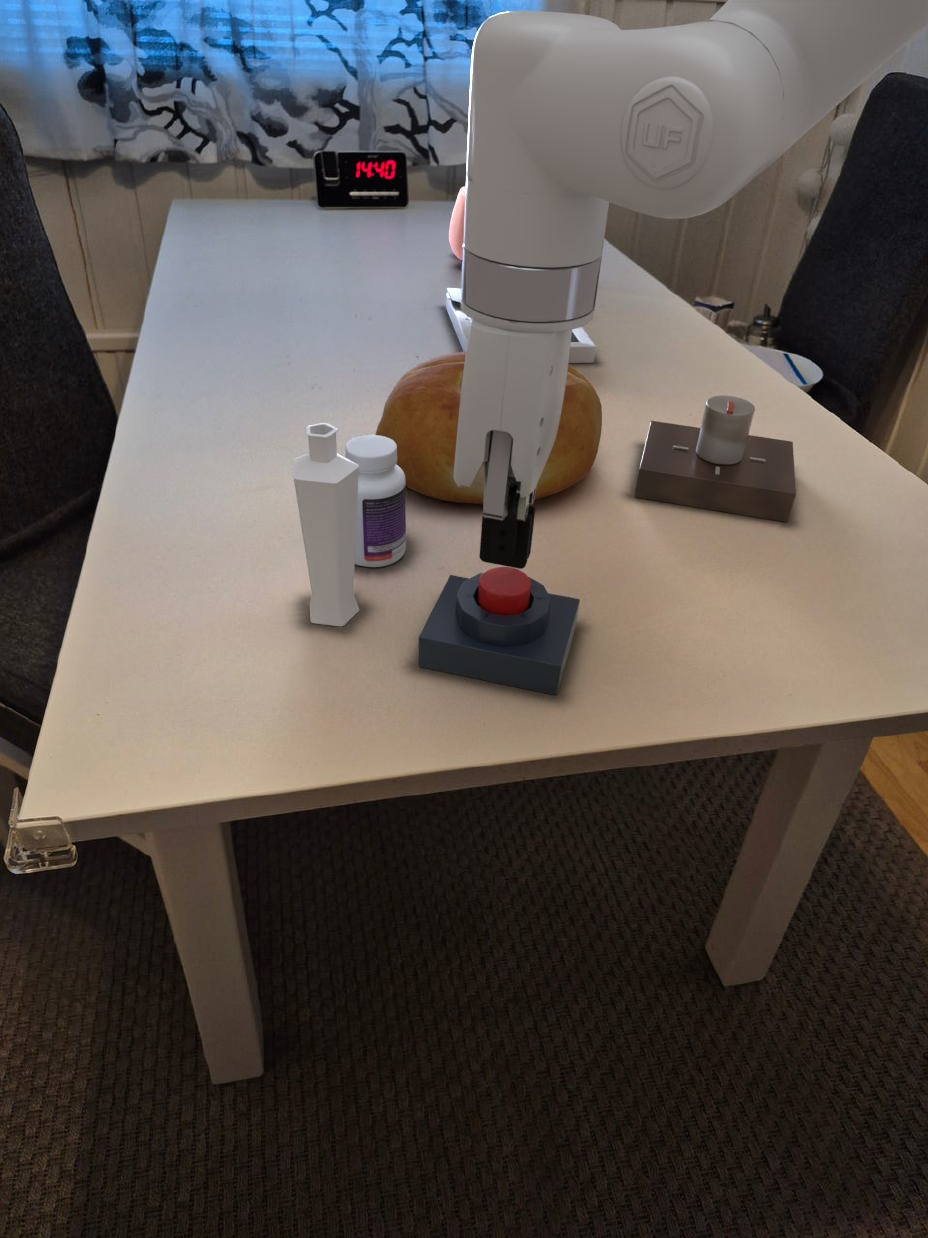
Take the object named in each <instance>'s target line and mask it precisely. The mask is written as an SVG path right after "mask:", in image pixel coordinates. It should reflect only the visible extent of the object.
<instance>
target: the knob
mask: <svg viewBox="0 0 928 1238" xmlns="http://www.w3.org/2000/svg"><path fill="white" fill-rule="evenodd" d="M755 411H756V407H755V405H754V404H753V403H752V402H750V401H749V400H747V399H744V398H742V397H738V396H733V395H715V396H714V395H713V396H710V397H709V398H708V399H707V400H706V402H705V407H704V411H703V415H702V419H701V424H700V427H699V428H700V433H699V437H698V442H697V446H696V453H697V455H698V456H699V457H701V458H702V459H704V460H706V461H708V462H711V463H716V464H723V465H729V464H735V463H738V462H740V461H741V460H742V458H743V454H744V450H745V446H746V442H747V438H748V435H750V430H751V427H752V422H753V418H754V415H755Z"/></svg>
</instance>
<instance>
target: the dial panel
mask: <svg viewBox="0 0 928 1238" xmlns="http://www.w3.org/2000/svg"><path fill="white" fill-rule="evenodd" d="M700 428H701V427H697V426H691V425H683V424H678V423H671V422H670V423H669V422H663V421H658V420H657V421H655V420H650V422H649V426H648V431H647V435H646V439H645V444H644V447H643V452H642V456H641V460H640V464H639V467H638V473H637V478H636V485H635V491H634V495H633V497H634V498H638V499H644V500H649V501H650V500H651V501H656V502H662V503H668V504H674V505H681V506H686V507H693V508H700V509H705V510H711V511H716V512H721V513H729V514H735V515H741V516H747V517H753V518H759V519H765V520H771V521H777V522H782V523H788V521H789V518H790V515H791V512H792V508H793V506H794V502H795V499H796V496H797V489H796V471H795V455H794V442H793V441H792V440H784V439H777V438H772V437H764V436H757V435H752V434H749V435H748V438H747V442H746V446H745V450H744V454H743V458H742V460H741V461H740V462H738V463H735V464H729V465H723V464H716V463H711V462H708V461H706V460H704V459H702V458H701V457H699V456H698V455H697V453H696V446H697V442H698V437H699V433H700Z"/></svg>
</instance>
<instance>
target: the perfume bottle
mask: <svg viewBox="0 0 928 1238" xmlns="http://www.w3.org/2000/svg"><path fill="white" fill-rule="evenodd" d="M338 431H339V429H338V428H337V427H336V426H334V425H332V424H331V423H328V422H320V423H314V424H309V425H306V426H305V434H306V436H307V439H308V450H309V451H308V452H309V453H306V454H303V455H300V456H298V457H295V458H293V460H292V467H293V468H292V473H293V483H294V490H295V495H296V500H297V502H296V503H297V508H298V515H299V521H300V528H301V533H302V539H303V546H304V553H305V558H306V564H307V571H308V578H309V584H310V591H311V595H310V602H309V620H310V621H309V622H310V623H312V624H318V625H325V626H334V627H343V626H345V625H347V623H348V622H349V621H350V620H351V619H353V617H355V615H357V613H359V611H360V608H359V605H358V602H357V600H356V597H355V594H354V589H355V588H354V587H355V567H356V564H355V544H356V521H357V497H358V474H359V465H358V464H356V463H354V462H352V461H350V460H349V459H347V458H346V456H343V455H342V454H339V453H338V447H337V446H338V445H337V444H338V443H337V433H338Z"/></svg>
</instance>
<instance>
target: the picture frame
mask: <svg viewBox="0 0 928 1238" xmlns="http://www.w3.org/2000/svg"><path fill="white" fill-rule="evenodd" d="M446 291H447V293H446V295H445V297H446V299H445V309H446V312H447V314H448V316H449V319H450V321H451V325H452V327H453V329H454V331H455V334H456V336H457V339H458V341H459V344H460V347H461V349H462V352H464V351H466V350H467V344H468V339H469V334H470V329H471V324H472V320H473V319H471V318H469V317H468V316H466V315H465V314H464V313H463V311H462V309H461V287H446ZM596 349H597V346H596V345H595V343H594V341H592V339H591V337H590V336H589V335H588V333H587V332H586V331H585V329H584V328H583V326H582V327H580V328H576V329H573V330H572V335H571V344H570V353H569V362H568V364H594V363H595V357H596Z"/></svg>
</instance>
